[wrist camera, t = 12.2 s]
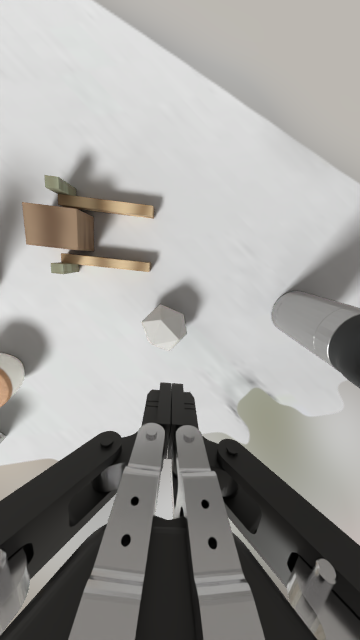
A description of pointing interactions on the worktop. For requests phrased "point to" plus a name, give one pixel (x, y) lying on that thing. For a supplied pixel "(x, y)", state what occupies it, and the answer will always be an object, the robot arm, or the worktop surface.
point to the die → (164, 327)
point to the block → (58, 227)
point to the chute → (70, 200)
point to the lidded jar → (10, 376)
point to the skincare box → (2, 437)
